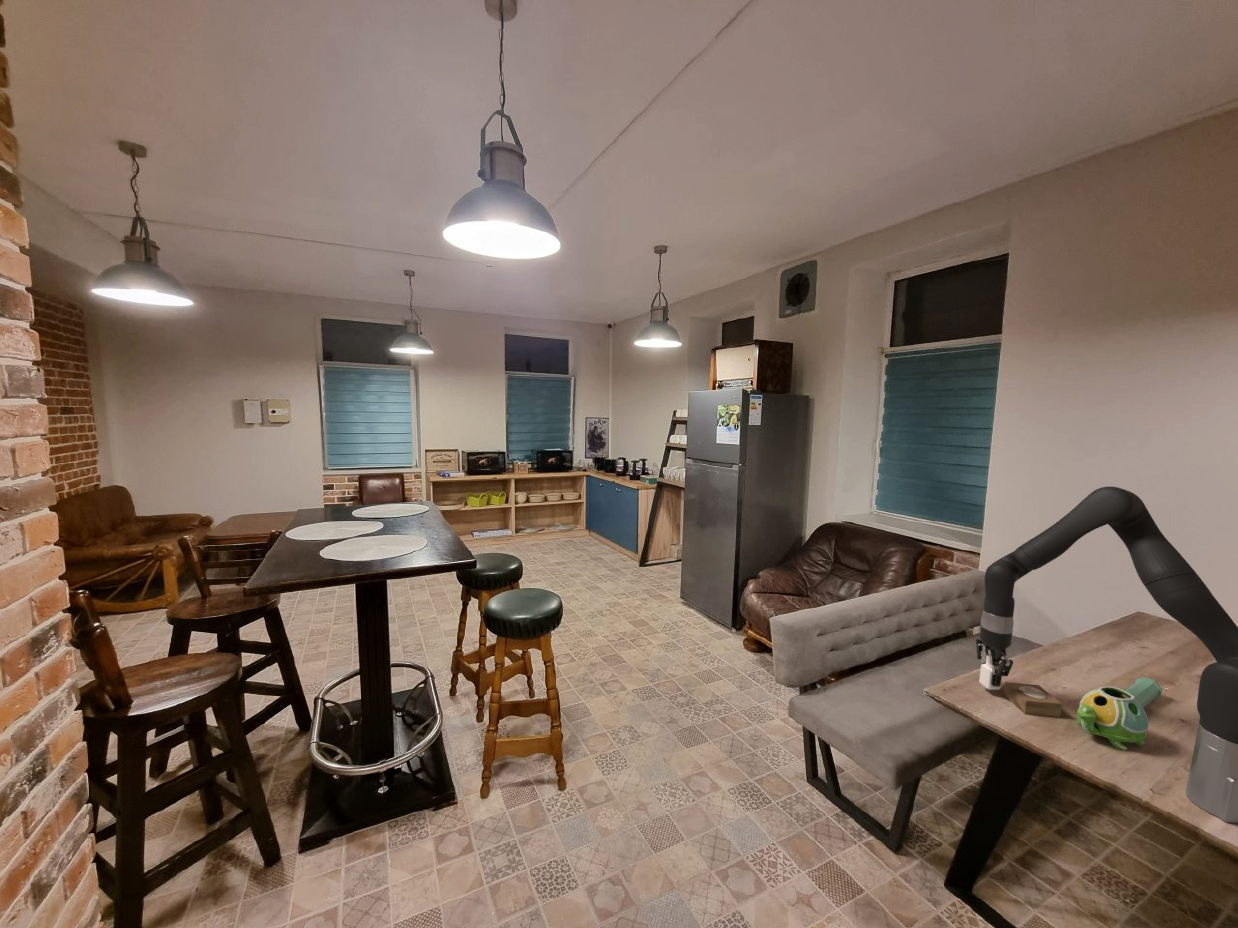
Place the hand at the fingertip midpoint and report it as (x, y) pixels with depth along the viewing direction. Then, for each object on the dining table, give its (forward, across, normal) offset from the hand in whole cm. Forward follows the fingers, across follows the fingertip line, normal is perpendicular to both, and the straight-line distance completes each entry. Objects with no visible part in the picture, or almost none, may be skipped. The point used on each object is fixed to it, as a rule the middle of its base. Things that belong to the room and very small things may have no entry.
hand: (990, 680), depth 147 cm
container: (+4, -2, -37) cm, 37 cm away
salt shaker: (+2, 0, 0) cm, 2 cm away
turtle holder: (+4, -17, -19) cm, 25 cm away
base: (+4, -6, -8) cm, 10 cm away
